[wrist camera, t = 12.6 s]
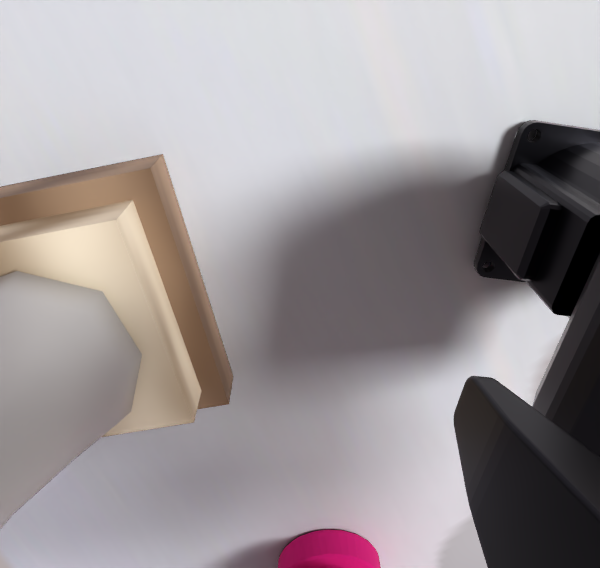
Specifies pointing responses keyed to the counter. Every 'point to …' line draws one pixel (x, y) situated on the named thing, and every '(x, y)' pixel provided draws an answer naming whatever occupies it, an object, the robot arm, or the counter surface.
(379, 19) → the counter surface
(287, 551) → the pepper mill
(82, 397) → the flask
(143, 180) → the tower base
